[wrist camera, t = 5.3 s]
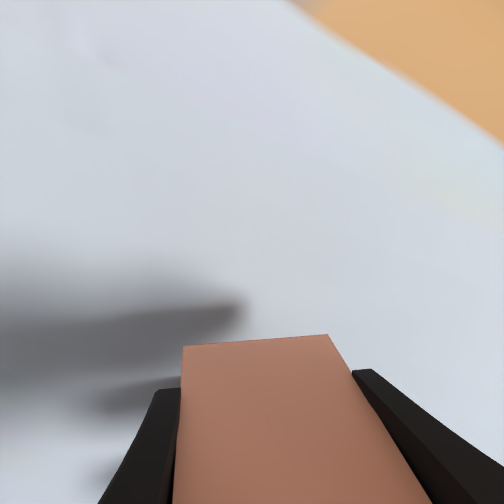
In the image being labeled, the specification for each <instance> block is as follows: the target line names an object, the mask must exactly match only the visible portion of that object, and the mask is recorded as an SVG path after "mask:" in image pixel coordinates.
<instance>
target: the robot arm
mask: <svg viewBox="0 0 504 504" xmlns="http://www.w3.org/2000/svg"><path fill="white" fill-rule="evenodd" d="M352 377H353V378H354V380H355V382H356V383H357V385H358V386H359V388H360V390H361V391H362V393H363V395H364V396H365V398H366V399H367V401H368V402H369V404H370V405H371V407H372V408H373V409H374V411H375V412H376V413H377V415H378V417H379V418H380V420H381V422H382V423H383V425H384V426H385V428H386V430H387V431H388V433H389V435H390V436H391V438H392V439H393V441H394V443H395V444H396V446H397V447H398V449H399V451H400V452H401V454H402V456H403V457H404V459H405V460H406V462H407V464H408V465H409V467H410V468H411V470H412V472H413V473H414V475H415V477H416V478H417V480H418V481H419V483H420V485H421V486H422V488H423V490H424V491H425V493H426V494H427V496H428V498H429V499H430V501H431V502H432V504H504V467H503V466H502V465H500V464H499V463H497V462H496V461H494V460H493V459H491V458H490V457H488V456H487V455H485V454H484V453H482V452H481V451H480V450H478V449H477V448H475V447H474V446H472V445H471V444H470V443H468V442H467V441H465V440H464V439H462V438H461V437H460V436H458V435H457V434H455V433H454V432H453V431H451V430H450V429H449V428H447V427H446V426H445V425H443V424H442V423H441V422H439V421H438V420H437V419H435V418H434V417H433V416H431V415H430V414H429V413H427V412H426V411H425V410H423V409H422V408H421V407H420V406H418V405H417V404H416V403H414V402H413V401H412V400H411V399H409V398H408V397H407V396H406V395H404V394H403V393H402V392H401V391H399V390H398V389H397V388H395V387H394V386H393V385H392V384H390V383H389V382H388V381H387V380H385V379H384V378H383V377H382V376H380V375H379V374H378V373H376V372H375V371H374V370H372V369H362V370H352ZM180 405H181V387H180V388H170V389H160V390H158V391H157V392H156V393H155V394H154V397H153V399H152V402H151V404H150V407H149V409H148V411H147V414H146V416H145V418H144V420H143V422H142V424H141V426H140V428H139V431H138V433H137V435H136V437H135V439H134V440H133V442H132V444H131V446H130V448H129V450H128V452H127V454H126V456H125V457H124V459H123V461H122V463H121V465H120V467H119V468H118V470H117V472H116V474H115V475H114V477H113V479H112V480H111V482H110V484H109V485H108V487H107V489H106V490H105V492H104V494H103V495H102V497H101V499H100V501H99V502H98V504H172V503H173V488H174V473H175V459H176V444H177V434H178V428H179V421H180Z"/></svg>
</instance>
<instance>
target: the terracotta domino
mask: <svg viewBox="0 0 504 504" xmlns="http://www.w3.org/2000/svg"><path fill="white" fill-rule="evenodd" d="M180 387H181V405H180V421H179V428H178V434H177V444H176V459H175V473H174V488H173V503H172V504H432V502H431V501H430V499H429V498H428V496H427V494H426V493H425V491H424V490H423V488H422V486H421V485H420V483H419V481H418V480H417V478H416V477H415V475H414V473H413V472H412V470H411V468H410V467H409V465H408V464H407V462H406V460H405V459H404V457H403V456H402V454H401V452H400V451H399V449H398V447H397V446H396V444H395V443H394V441H393V439H392V438H391V436H390V435H389V433H388V431H387V430H386V428H385V426H384V425H383V423H382V422H381V420H380V418H379V417H378V415H377V413H376V412H375V411H374V409H373V408H372V407H371V405H370V404H369V402H368V401H367V399H366V398H365V396H364V395H363V393H362V391H361V390H360V388H359V386H358V385H357V383H356V382H355V380H354V378H353V377H352V373H351V371H350V370H349V368H348V367H347V365H346V363H345V362H344V360H343V358H342V357H341V355H340V354H339V352H338V350H337V349H336V347H335V346H334V344H333V342H332V341H331V339H330V337H329V336H328V334H324V335H311V336H299V337H287V338H274V339H262V340H249V341H237V342H224V343H212V344H200V345H187V346H183V355H182V370H181V385H180Z"/></svg>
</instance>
